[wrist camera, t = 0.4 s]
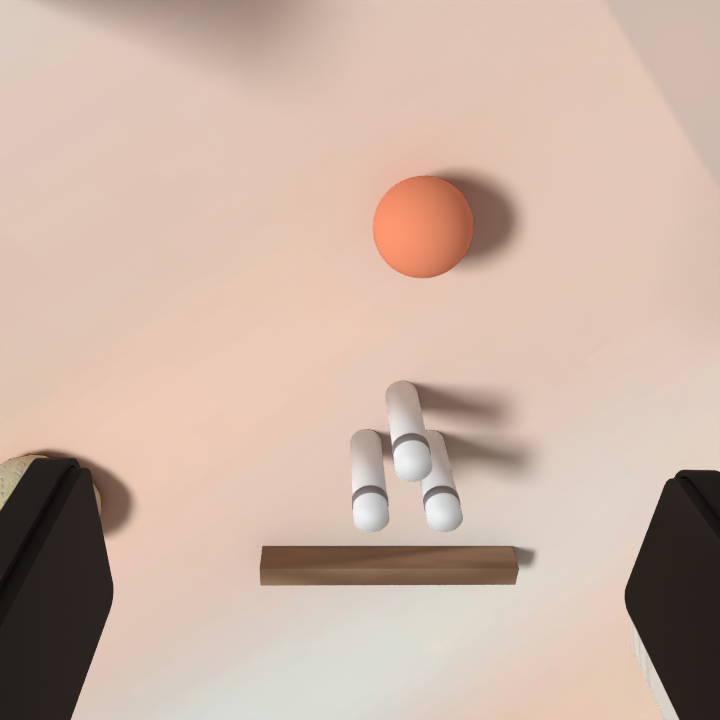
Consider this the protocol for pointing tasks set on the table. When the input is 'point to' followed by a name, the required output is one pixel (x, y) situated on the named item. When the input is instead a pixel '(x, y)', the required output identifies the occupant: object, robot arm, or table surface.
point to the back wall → (388, 565)
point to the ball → (423, 227)
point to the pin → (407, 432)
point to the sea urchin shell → (9, 473)
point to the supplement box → (651, 676)
